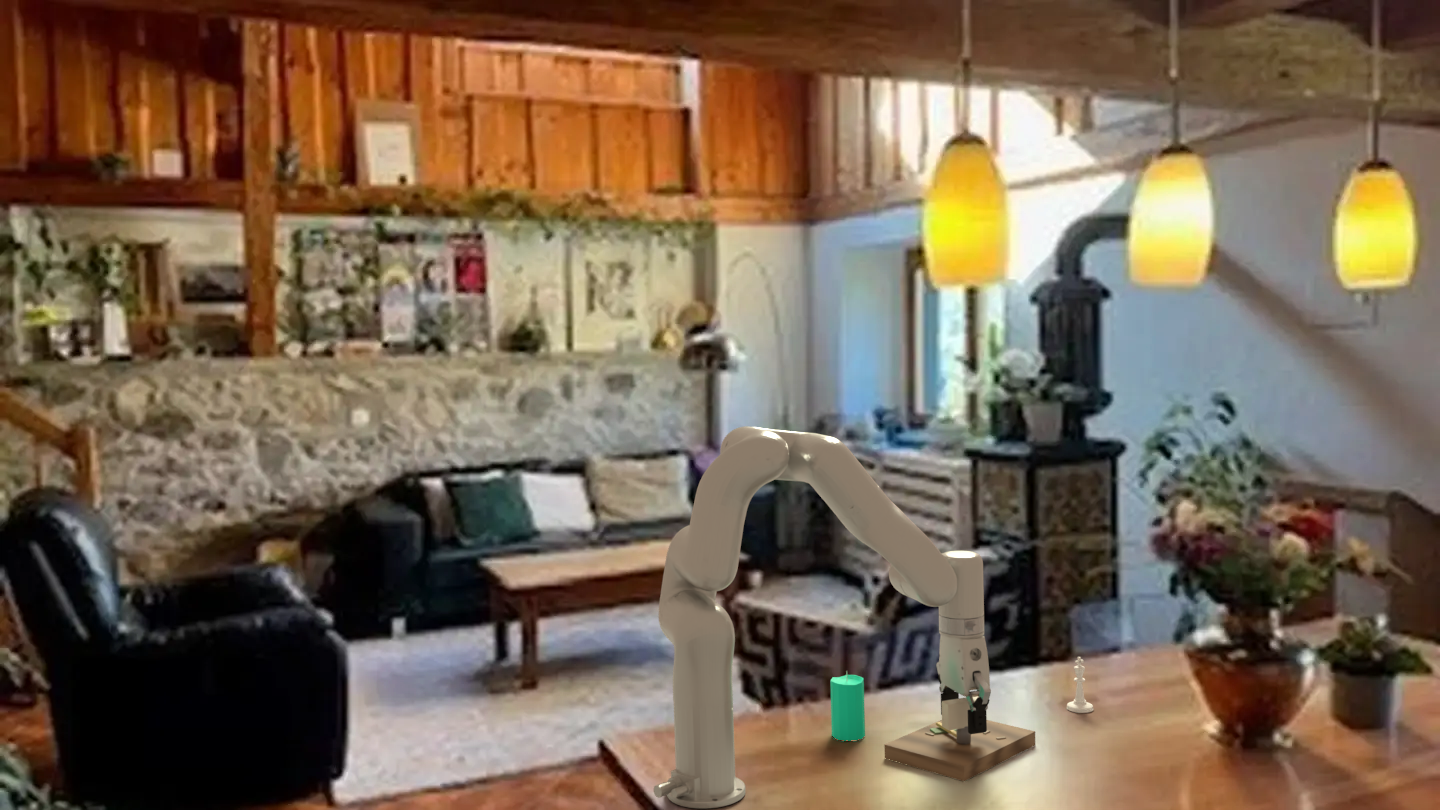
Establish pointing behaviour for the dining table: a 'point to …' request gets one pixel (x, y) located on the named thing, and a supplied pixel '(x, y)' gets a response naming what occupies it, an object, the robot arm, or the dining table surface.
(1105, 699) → the dining table surface
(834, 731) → the candle
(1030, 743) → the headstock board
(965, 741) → the wooden toy mallet
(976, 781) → the dining table surface
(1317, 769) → the dining table surface
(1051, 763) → the dining table surface
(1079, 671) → the chess piece
